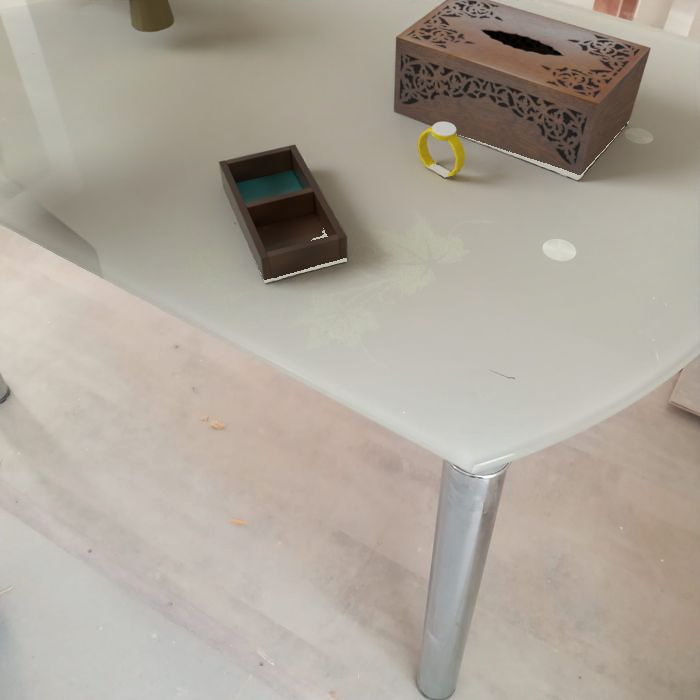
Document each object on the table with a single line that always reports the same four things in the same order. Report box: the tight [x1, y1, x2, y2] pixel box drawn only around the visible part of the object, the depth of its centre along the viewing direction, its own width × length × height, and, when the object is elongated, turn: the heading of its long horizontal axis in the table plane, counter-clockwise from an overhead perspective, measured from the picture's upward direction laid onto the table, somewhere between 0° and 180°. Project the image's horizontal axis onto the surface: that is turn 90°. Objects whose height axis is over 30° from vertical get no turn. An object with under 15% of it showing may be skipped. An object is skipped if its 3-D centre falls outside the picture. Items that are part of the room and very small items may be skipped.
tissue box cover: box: [393, 0, 651, 175], centre depth 94 cm, size 26×14×10 cm, turn 54°
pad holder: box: [218, 143, 348, 280], centre depth 84 cm, size 9×17×4 cm, turn 20°
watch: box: [417, 122, 466, 177], centre depth 89 cm, size 6×3×6 cm, turn 46°
